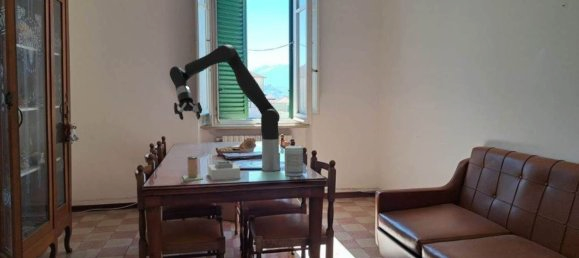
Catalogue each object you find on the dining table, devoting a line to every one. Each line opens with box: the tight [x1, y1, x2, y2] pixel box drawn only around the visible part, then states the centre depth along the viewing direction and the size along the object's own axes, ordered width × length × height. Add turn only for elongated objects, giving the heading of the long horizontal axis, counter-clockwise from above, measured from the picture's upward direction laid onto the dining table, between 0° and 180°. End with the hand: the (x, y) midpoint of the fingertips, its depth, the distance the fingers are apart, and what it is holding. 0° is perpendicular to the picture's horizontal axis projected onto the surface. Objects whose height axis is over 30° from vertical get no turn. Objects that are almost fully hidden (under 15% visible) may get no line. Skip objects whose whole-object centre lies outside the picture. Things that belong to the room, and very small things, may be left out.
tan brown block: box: [186, 155, 198, 178], centre depth 210 cm, size 5×5×10 cm
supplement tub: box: [284, 145, 304, 178], centre depth 219 cm, size 10×10×15 cm
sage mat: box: [182, 174, 204, 182], centre depth 211 cm, size 9×9×1 cm
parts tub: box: [207, 160, 242, 181], centre depth 216 cm, size 16×13×7 cm
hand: (190, 118), depth 220 cm, fingers open, 8 cm apart
